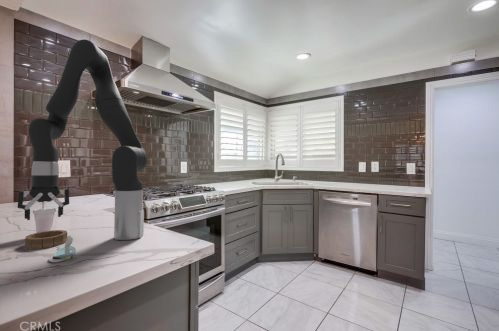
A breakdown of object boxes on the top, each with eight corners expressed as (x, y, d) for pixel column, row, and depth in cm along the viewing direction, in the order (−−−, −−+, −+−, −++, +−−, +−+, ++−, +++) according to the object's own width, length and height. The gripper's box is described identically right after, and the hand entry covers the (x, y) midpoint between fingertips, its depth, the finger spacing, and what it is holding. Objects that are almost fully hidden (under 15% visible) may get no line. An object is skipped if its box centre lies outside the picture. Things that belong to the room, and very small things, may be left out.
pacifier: (47, 266, 62) (76, 260, 65) (46, 242, 61) (75, 237, 65) (49, 257, 67) (75, 252, 71) (49, 235, 67) (75, 231, 71)
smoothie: (41, 233, 90) (42, 196, 90) (59, 233, 90) (60, 196, 90) (27, 238, 83) (28, 198, 83) (46, 238, 84) (47, 198, 84)
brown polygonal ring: (72, 237, 85) (72, 229, 85) (56, 247, 74) (56, 238, 74) (38, 239, 82) (38, 231, 82) (16, 250, 72) (17, 240, 72)
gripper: (68, 173, 94) (67, 214, 94) (18, 173, 85) (17, 219, 85) (71, 174, 89) (69, 217, 89) (18, 174, 79) (16, 223, 79)
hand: (44, 218), depth 87 cm, fingers open, 8 cm apart
